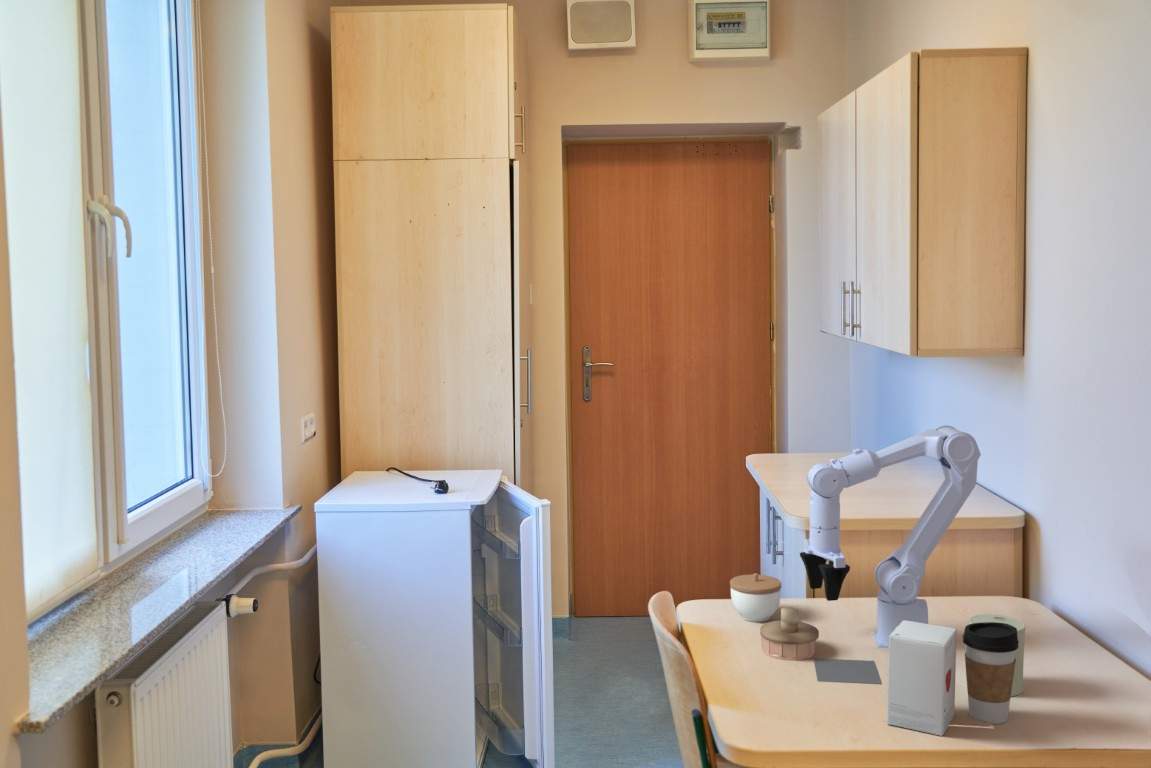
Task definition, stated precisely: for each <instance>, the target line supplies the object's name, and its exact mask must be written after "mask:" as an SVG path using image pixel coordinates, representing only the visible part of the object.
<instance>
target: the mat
mask: <svg viewBox="0 0 1151 768" xmlns="http://www.w3.org/2000/svg"><path fill="white" fill-rule="evenodd" d="M813 662H814V669H815V674H816V681H817V682H821V683H822V682H823V683H824V682H825V683H845V684H865V685H882V681H881V678H880V674H879V672H878V671H879V670H878V669H877V665H876V663H875V660H863V659H862V660H860V659H842V658H841V659H839V658H816V657H815V658H813Z"/></svg>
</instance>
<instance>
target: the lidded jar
mask: <svg viewBox="0 0 1151 768" xmlns="http://www.w3.org/2000/svg"><path fill="white" fill-rule="evenodd" d="M729 586H730V598H731V604H732V606H733V609H734V610H735V611H736V613H737V614H739V616H740V618H741V619H742V620H744V621H748V622H755V623H759V622H760V623H761V622H766V621H769V620H770V619H771V617H772V616H773V615H774V614H775V613H776V612H777V610H778V608H779V606H780V603H781V597H782V596H781V595H782V592H781V591H782V581H781V580H780V579H779V578H777V577H773V576H770V575H766V574H759V573H757V572H756V573H755V572H754V573H753V574H742V575H737V576H734V577H733V578H731V579H730V580H729Z"/></svg>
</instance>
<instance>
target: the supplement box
mask: <svg viewBox="0 0 1151 768" xmlns="http://www.w3.org/2000/svg"><path fill="white" fill-rule="evenodd" d="M957 631H958V630H957V628H954V627H949V626H944V625H943V626H942V625H935V624H929V623H928V624H924V623H918V622H913V621H906V620H904V621H902V622H901V624H900V625H899V626H897V627H896V628H895V630H894V631H893V632H892V633H891V635H890V636H889V648H888V666H887V667H888V670H887V671H888V672H887V673H888V674H887V675H888V676H887V703H886V704H887V705H886V706H887V707H886V708H887V709H886V724H887V725H891V726H894V727H900V728H905V729H909V730H914V731H918V732H923V733H927V734H932V735H936V736H940V737H942V736H943V735H944V734H945V733H946V731H947V730H948V728H949V726H950V724H951V721H952V720H953V718H954V717H955V707H956V705H955V704H956V703H955V701H956V700H955V699H956V672H957V671H956V669H957V667H956V665H957V664H956V663H957V634H958V633H957Z"/></svg>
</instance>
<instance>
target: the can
mask: <svg viewBox="0 0 1151 768" xmlns="http://www.w3.org/2000/svg"><path fill="white" fill-rule="evenodd" d="M968 622H969V623H968V625H969V624H973V623H982V622H997V623H1005V624H1009V625H1012V626H1013V627H1015V628H1016V629H1017V636H1018V641H1019V644H1018V646H1019V647H1018V649H1017V650H1015V659H1016V662H1015V669H1014V676H1013V684H1012V691H1011V697H1016V696H1019V695H1021V694H1022V693H1023V692H1024V690H1025V687H1024V663H1025V662H1024V658H1025V655H1024V654H1025V636H1026V635H1025V634H1026V633H1025V632H1026V624H1025V623H1024V622H1023V621H1021V620H1019V619H1018V618H1014V617H1011V616H1006V615H1002V614H992V613H991V614H990V613H985V614H978V615H974V616H973V615H972V616H970V618H969V619H968Z"/></svg>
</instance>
